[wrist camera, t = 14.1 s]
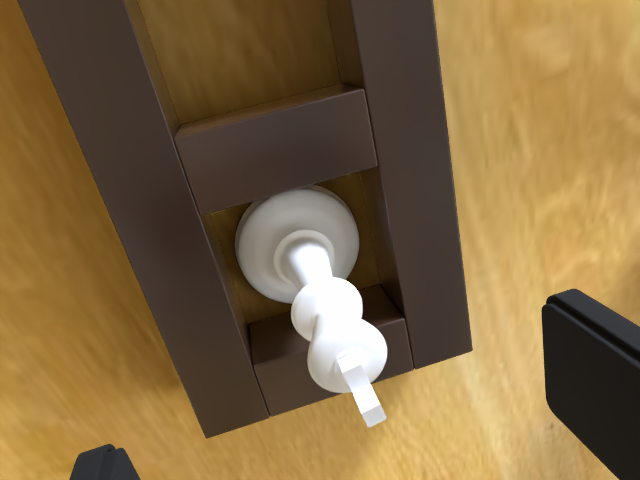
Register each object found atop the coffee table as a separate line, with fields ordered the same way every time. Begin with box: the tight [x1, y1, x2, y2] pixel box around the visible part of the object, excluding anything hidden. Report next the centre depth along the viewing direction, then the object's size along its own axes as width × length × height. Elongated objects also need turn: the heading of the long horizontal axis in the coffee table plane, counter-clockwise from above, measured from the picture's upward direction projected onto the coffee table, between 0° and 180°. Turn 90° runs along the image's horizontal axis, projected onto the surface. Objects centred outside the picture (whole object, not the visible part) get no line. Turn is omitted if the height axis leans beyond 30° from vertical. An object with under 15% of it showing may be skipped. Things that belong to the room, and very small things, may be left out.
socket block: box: [17, 0, 473, 438], centre depth 16 cm, size 11×19×3 cm, turn 13°
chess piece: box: [235, 184, 387, 428], centre depth 14 cm, size 5×5×10 cm
